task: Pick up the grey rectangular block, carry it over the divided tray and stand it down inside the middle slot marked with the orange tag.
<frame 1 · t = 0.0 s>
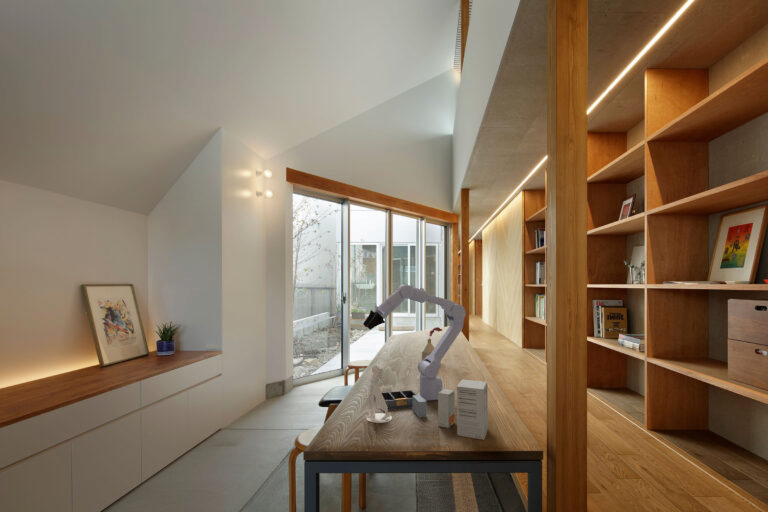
hand: (366, 326, 170), 32 cm above the table, tool tilted 50°, fingers open, 7 cm apart
female figurine: (371, 418, 152), on the table
skincare box: (446, 425, 145), on the table
divided tray: (398, 403, 168), on the table
supplement box: (472, 433, 138), on the table
grey rectangular block: (419, 413, 156), on the table
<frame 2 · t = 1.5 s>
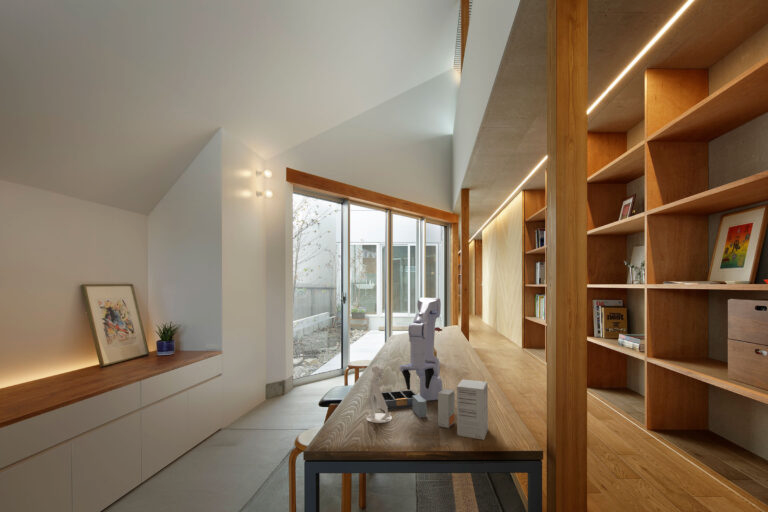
hand: (417, 388, 157), 10 cm above the table, tool pointing down, fingers open, 7 cm apart
nothing on the table moved.
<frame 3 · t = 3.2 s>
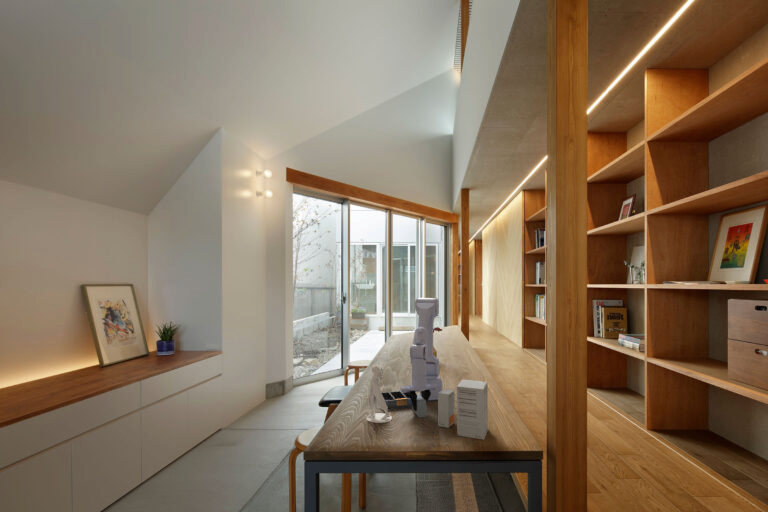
hand: (419, 409, 156), 1 cm above the table, tool pointing down, fingers closed on grey rectangular block, 3 cm apart
grey rectangular block: (419, 413, 156), on the table, touching gripper
everything else where it was.
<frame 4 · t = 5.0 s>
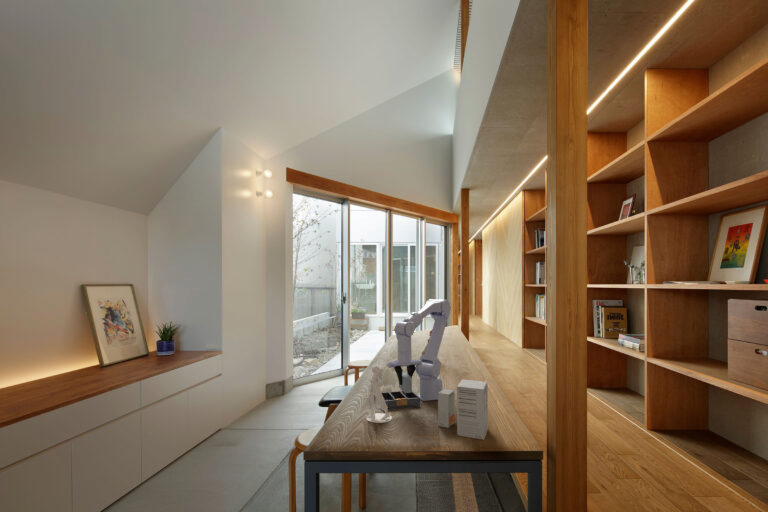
hand: (404, 383, 164), 9 cm above the table, tool pointing down, fingers closed on grey rectangular block, 3 cm apart
grey rectangular block: (405, 389, 164), point 7 cm above the table, touching gripper
everything else where it was.
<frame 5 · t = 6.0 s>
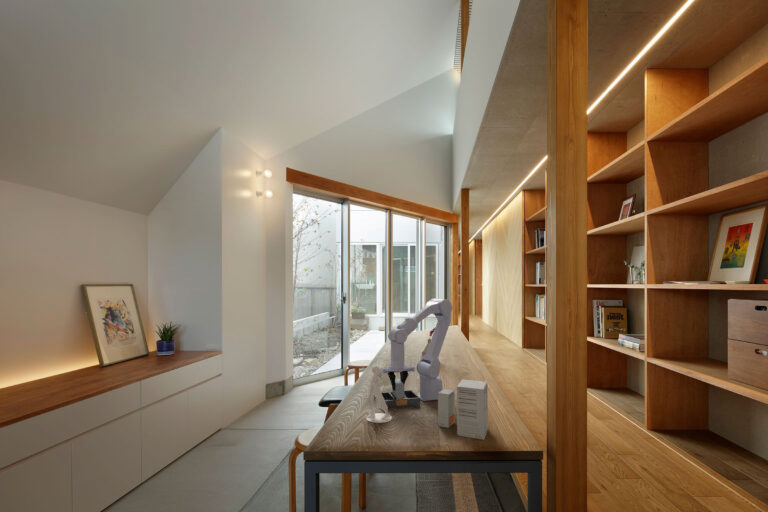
hand: (397, 389, 168), 6 cm above the table, tool pointing down, fingers closed on grey rectangular block, 3 cm apart
grey rectangular block: (398, 396, 167), point 3 cm above the table, touching gripper
everything else where it was.
when the fingers open (4 cm above the table, at t = 6.7 s): grey rectangular block stays where it is, resting on divided tray.
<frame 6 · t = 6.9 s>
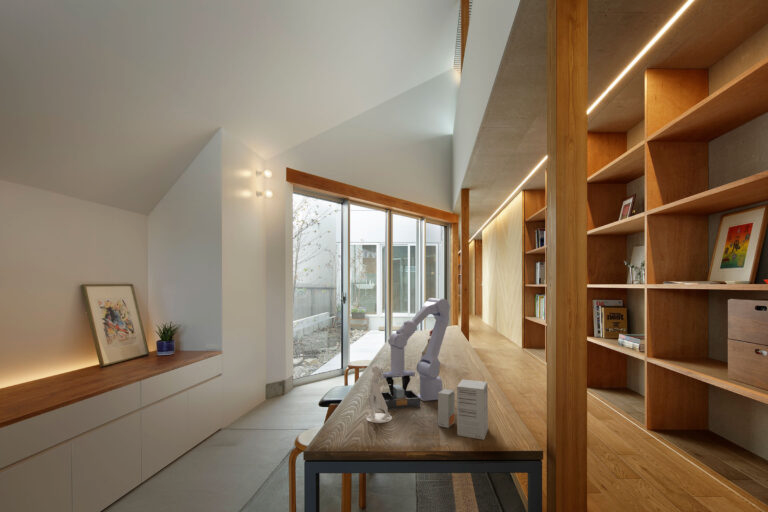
hand: (397, 394, 168), 4 cm above the table, tool pointing down, fingers open, 5 cm apart
grey rectangular block: (398, 401, 167), point 1 cm above the table, touching divided tray
everything else where it was.
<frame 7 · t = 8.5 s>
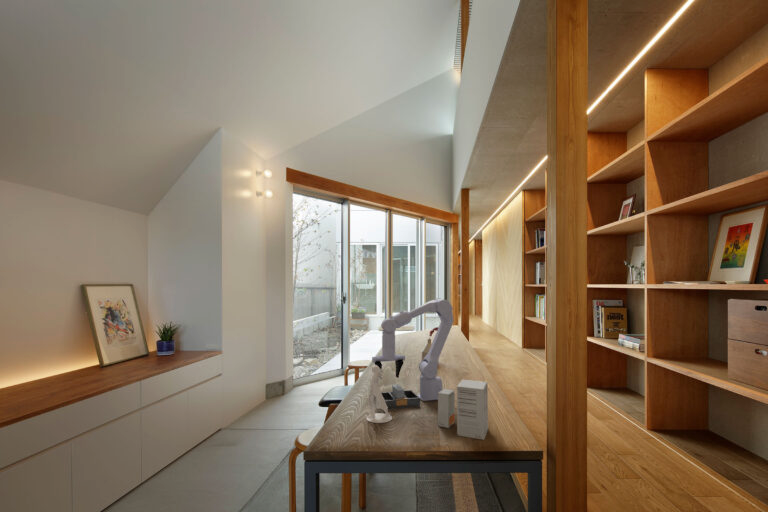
hand: (388, 377, 173), 9 cm above the table, tool pointing down, fingers open, 7 cm apart
nothing on the table moved.
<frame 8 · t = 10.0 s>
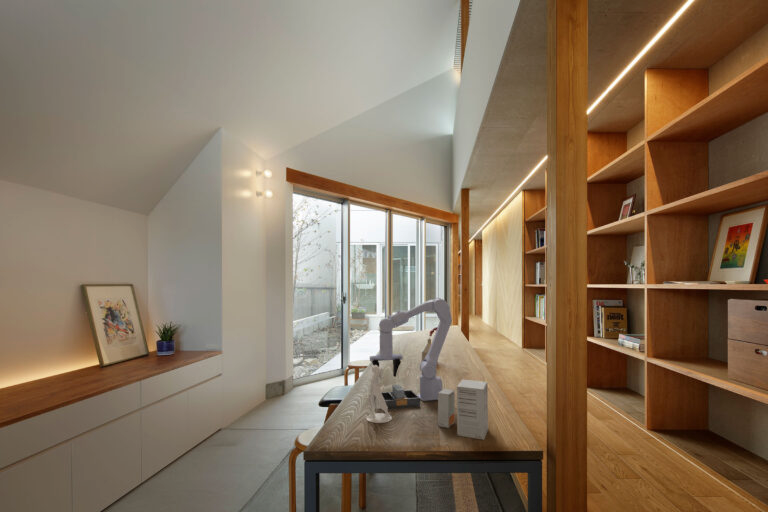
hand: (386, 376, 175), 9 cm above the table, tool pointing down, fingers open, 7 cm apart
nothing on the table moved.
at the end: grey rectangular block 0.5 cm off-centre on the divided tray, point 1.0 cm above the divided tray's base; grey rectangular block tilted 0°; the gripper is holding nothing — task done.
